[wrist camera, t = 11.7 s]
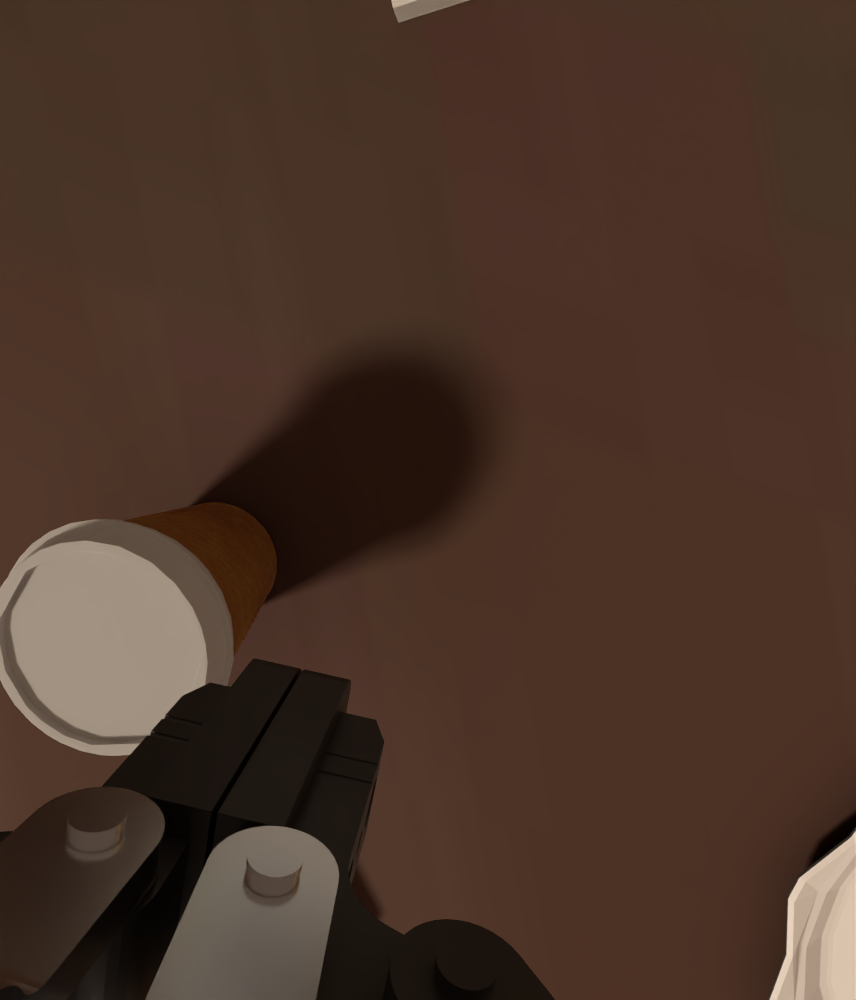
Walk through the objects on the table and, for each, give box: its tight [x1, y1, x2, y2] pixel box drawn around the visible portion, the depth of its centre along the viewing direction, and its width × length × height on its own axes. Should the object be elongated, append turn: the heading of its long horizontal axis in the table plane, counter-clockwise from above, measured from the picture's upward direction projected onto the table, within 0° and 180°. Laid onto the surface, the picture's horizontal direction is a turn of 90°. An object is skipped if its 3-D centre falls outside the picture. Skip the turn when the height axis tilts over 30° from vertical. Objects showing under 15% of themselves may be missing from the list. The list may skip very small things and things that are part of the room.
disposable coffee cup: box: [0, 502, 277, 756], centre depth 34 cm, size 10×10×12 cm
